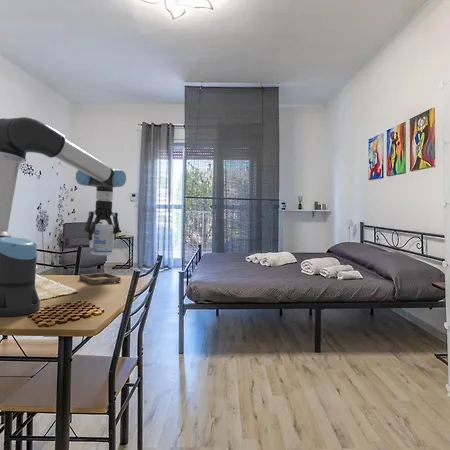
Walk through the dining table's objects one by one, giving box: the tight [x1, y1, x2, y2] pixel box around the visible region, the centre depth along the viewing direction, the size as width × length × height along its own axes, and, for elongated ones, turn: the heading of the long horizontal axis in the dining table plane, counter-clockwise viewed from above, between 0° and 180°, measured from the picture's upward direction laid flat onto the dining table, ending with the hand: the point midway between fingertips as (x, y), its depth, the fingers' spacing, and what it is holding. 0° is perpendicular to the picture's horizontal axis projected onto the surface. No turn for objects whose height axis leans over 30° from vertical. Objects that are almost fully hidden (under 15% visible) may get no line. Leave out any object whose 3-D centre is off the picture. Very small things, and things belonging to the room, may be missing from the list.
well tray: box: [78, 272, 122, 286], centre depth 169 cm, size 14×14×2 cm
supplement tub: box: [90, 223, 114, 256], centre depth 168 cm, size 10×10×15 cm
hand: (101, 247), depth 168 cm, fingers closed on supplement tub, 9 cm apart
